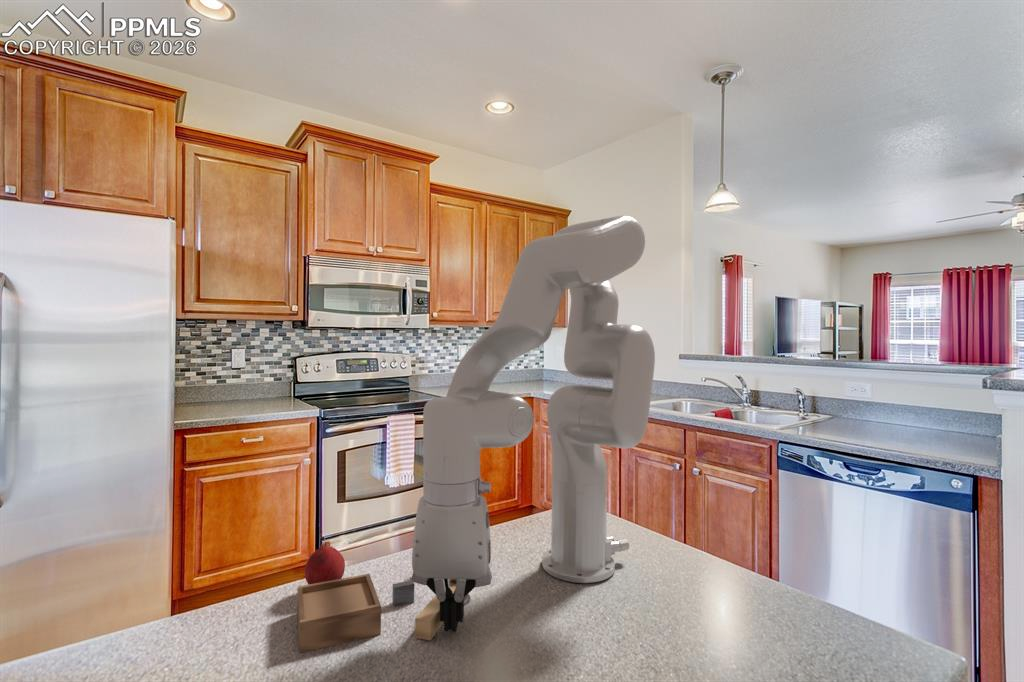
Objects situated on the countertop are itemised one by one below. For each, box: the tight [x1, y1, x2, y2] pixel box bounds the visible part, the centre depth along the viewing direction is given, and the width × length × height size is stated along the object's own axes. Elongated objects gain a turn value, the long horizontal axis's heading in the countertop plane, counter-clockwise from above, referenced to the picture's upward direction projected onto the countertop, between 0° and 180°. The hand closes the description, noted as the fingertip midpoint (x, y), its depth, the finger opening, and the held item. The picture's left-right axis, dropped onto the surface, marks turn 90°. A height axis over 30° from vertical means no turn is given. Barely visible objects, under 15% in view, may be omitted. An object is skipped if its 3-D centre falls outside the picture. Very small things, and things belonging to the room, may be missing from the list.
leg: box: [414, 579, 467, 641], centre depth 71 cm, size 13×3×2 cm, turn 163°
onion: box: [304, 539, 346, 585], centre depth 78 cm, size 6×6×8 cm
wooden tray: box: [296, 573, 382, 654], centre depth 69 cm, size 10×10×4 cm
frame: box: [391, 579, 471, 607], centre depth 75 cm, size 11×5×4 cm, turn 115°
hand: (451, 625), depth 67 cm, fingers closed
